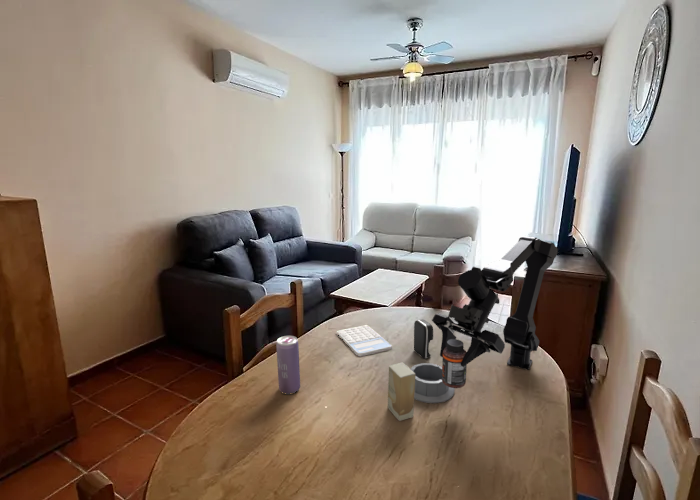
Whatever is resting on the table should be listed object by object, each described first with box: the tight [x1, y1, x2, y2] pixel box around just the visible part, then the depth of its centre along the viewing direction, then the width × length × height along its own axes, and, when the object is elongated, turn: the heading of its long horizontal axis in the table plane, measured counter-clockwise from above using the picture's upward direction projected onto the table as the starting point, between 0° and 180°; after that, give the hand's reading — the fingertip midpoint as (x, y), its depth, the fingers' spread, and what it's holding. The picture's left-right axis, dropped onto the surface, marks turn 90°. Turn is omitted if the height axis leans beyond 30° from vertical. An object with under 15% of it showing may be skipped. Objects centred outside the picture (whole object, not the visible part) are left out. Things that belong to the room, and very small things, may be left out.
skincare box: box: [387, 361, 415, 422], centre depth 97 cm, size 6×4×12 cm
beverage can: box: [275, 335, 301, 395], centre depth 107 cm, size 6×6×15 cm
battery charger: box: [413, 319, 434, 359], centre depth 127 cm, size 7×4×11 cm, turn 21°
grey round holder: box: [410, 362, 456, 404], centre depth 108 cm, size 14×14×5 cm
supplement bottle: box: [441, 338, 468, 389], centre depth 98 cm, size 6×6×11 cm
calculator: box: [336, 324, 393, 357], centre depth 138 cm, size 13×20×2 cm, turn 24°
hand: (451, 361), depth 97 cm, fingers closed on supplement bottle, 6 cm apart
